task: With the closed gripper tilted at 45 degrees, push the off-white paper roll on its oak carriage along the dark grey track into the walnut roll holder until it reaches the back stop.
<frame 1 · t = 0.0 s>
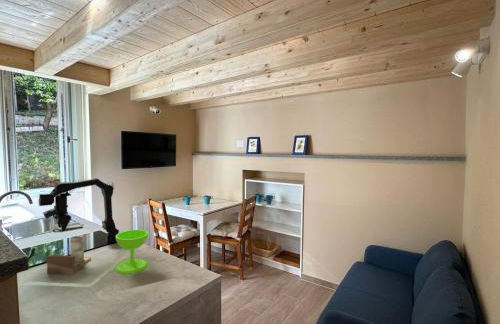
hand: (61, 229, 154), 15 cm above the counter, tool pointing down, fingers open, 9 cm apart
wineglass: (132, 266, 141), on the counter
roll holder: (77, 264, 141), on the counter
roll carriage: (77, 249, 141), point 8 cm above the counter, slide at 0.0 cm
dish towel: (66, 228, 203), on the counter
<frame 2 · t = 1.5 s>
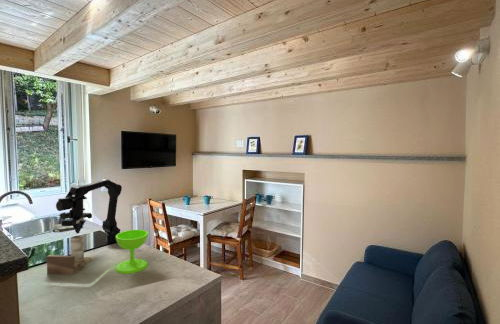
hand: (77, 233, 153), 13 cm above the counter, tool pointing down, fingers closed
nothing on the counter moved.
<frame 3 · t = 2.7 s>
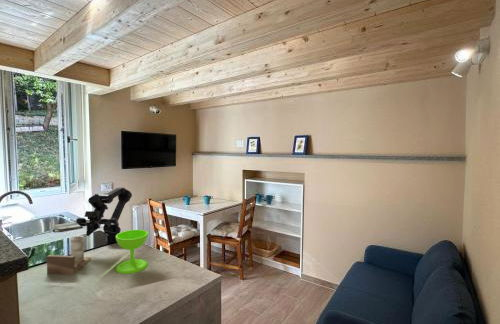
hand: (87, 235, 149), 13 cm above the counter, tool tilted 45°, fingers closed
nothing on the counter moved.
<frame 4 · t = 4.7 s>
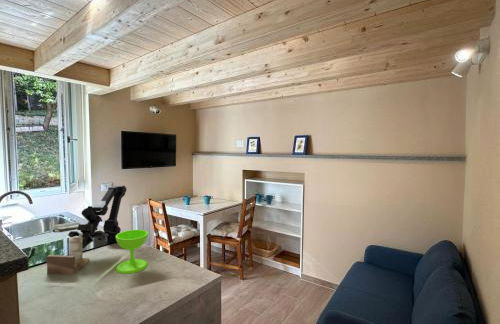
hand: (79, 250, 143), 7 cm above the counter, tool tilted 45°, fingers closed, pressing on roll carriage
roll carriage: (75, 250, 140), point 8 cm above the counter, slide at 1.2 cm, touching gripper
everything else where it was.
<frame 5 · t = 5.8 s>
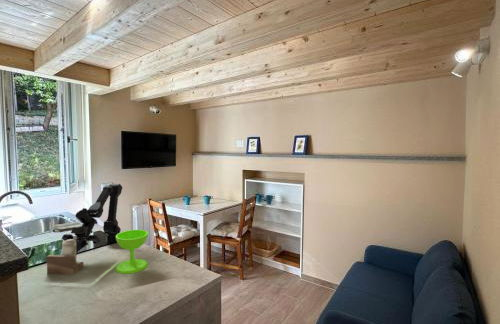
hand: (73, 254, 138), 7 cm above the counter, tool tilted 45°, fingers closed
roll carriage: (69, 254, 135), point 8 cm above the counter, slide at 5.9 cm, touching gripper
everything else where it was.
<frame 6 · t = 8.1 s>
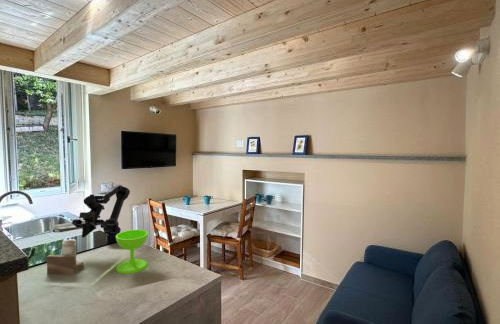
hand: (83, 237, 146), 13 cm above the counter, tool tilted 45°, fingers closed
roll carriage: (69, 254, 135), point 8 cm above the counter, slide at 6.0 cm
everything else where it was.
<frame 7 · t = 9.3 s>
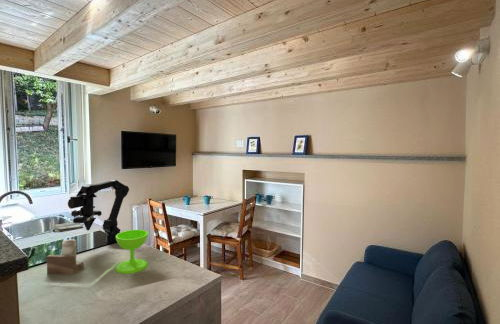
hand: (88, 230, 159), 13 cm above the counter, tool pointing down, fingers closed
nothing on the counter moved.
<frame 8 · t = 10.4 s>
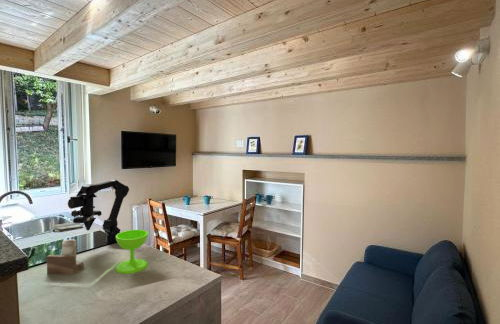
hand: (88, 230, 159), 13 cm above the counter, tool pointing down, fingers closed
nothing on the counter moved.
at the end: roll carriage slide at 6.0 cm; the gripper is holding nothing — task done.
